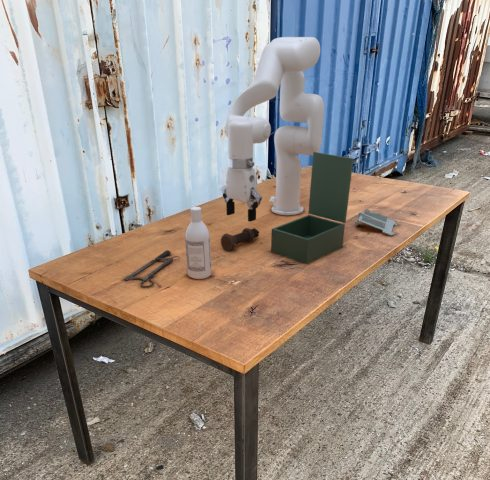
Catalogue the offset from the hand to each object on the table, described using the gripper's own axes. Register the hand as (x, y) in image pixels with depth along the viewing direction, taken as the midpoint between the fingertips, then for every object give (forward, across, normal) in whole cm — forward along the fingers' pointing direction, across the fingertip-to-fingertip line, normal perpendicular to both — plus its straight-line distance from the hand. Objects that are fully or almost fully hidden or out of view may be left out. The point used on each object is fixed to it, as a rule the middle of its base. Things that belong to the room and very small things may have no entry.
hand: (241, 217), depth 164 cm
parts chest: (+9, -19, -12) cm, 24 cm away
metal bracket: (+9, -24, -45) cm, 51 cm away
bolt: (+10, 0, -1) cm, 10 cm away
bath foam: (+10, -8, +25) cm, 28 cm away
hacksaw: (+10, +4, +31) cm, 33 cm away
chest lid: (-9, -19, -21) cm, 30 cm away
